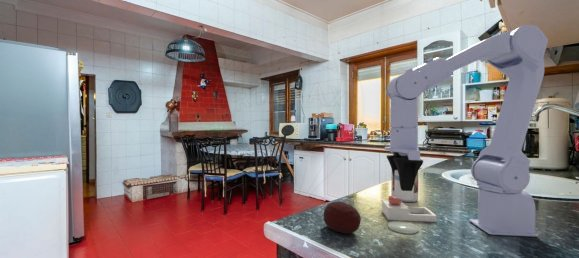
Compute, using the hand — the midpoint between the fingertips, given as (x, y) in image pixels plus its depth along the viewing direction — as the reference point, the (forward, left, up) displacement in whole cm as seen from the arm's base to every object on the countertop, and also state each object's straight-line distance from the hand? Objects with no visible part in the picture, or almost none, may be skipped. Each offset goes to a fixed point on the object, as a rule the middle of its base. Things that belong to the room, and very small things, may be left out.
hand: (403, 187), depth 59 cm
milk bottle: (-8, -24, -9) cm, 27 cm away
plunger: (0, -8, -8) cm, 11 cm away
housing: (-4, -8, -9) cm, 13 cm away
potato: (+14, +3, -9) cm, 17 cm away
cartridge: (0, 0, -2) cm, 2 cm away
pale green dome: (0, 0, -9) cm, 9 cm away
